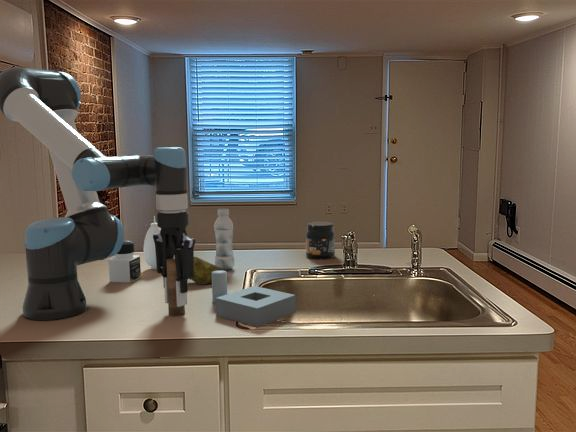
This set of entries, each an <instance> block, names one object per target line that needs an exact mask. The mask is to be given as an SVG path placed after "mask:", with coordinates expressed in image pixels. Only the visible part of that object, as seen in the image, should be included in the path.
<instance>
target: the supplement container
mask: <svg viewBox="0 0 576 432" xmlns="http://www.w3.org/2000/svg"><path fill="white" fill-rule="evenodd" d="M334 229H335V227H334V222H330V221H329V222H328V221H312V222H308V223H306V230H307V231H306V232H305V255H306V257H308V258H309V259H312V260H313V259H314V260H329V259H332V258H333V257H335V255H336V251H335V249H336V246H335V245H336V243H335V242H336V239H335V238H336V237H335V236H336V233H335V231H334Z"/></svg>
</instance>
